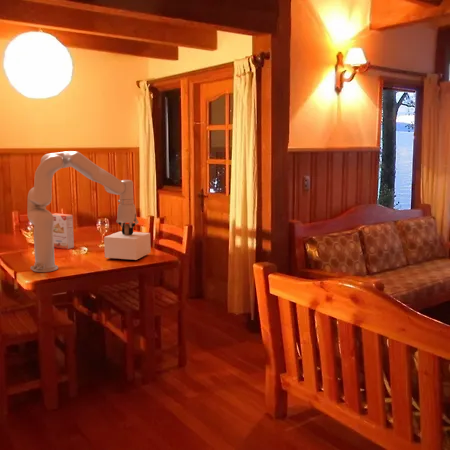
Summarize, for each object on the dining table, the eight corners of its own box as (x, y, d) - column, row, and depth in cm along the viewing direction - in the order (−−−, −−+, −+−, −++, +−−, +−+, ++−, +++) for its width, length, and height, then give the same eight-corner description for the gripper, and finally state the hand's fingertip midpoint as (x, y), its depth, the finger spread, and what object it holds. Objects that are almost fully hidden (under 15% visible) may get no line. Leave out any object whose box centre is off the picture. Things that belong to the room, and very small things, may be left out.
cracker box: (50, 247, 325) (48, 214, 322) (57, 245, 331) (56, 212, 327) (67, 249, 319) (65, 215, 315) (74, 247, 324) (73, 214, 321)
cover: (136, 259, 287) (135, 228, 284) (104, 257, 292) (103, 226, 289) (150, 252, 305) (150, 222, 302) (120, 250, 310) (119, 221, 307)
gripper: (110, 202, 292) (111, 234, 295) (137, 203, 288) (138, 236, 291) (116, 200, 299) (117, 232, 302) (143, 201, 295) (143, 233, 298)
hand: (127, 233), depth 297 cm, fingers closed on cover, 3 cm apart
